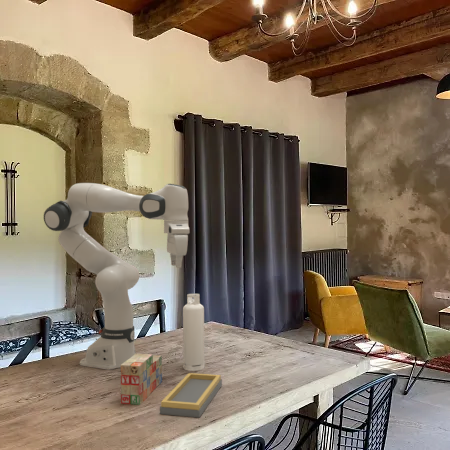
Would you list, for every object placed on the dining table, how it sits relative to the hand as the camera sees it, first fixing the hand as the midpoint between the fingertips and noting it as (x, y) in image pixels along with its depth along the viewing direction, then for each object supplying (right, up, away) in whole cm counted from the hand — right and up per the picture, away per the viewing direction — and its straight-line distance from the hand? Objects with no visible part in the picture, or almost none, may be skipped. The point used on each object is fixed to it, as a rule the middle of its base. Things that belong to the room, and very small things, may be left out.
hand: (176, 266), depth 170 cm
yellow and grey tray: (+8, -40, -22) cm, 46 cm away
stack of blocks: (-9, -40, -16) cm, 44 cm away
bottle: (+6, -40, +9) cm, 41 cm away
